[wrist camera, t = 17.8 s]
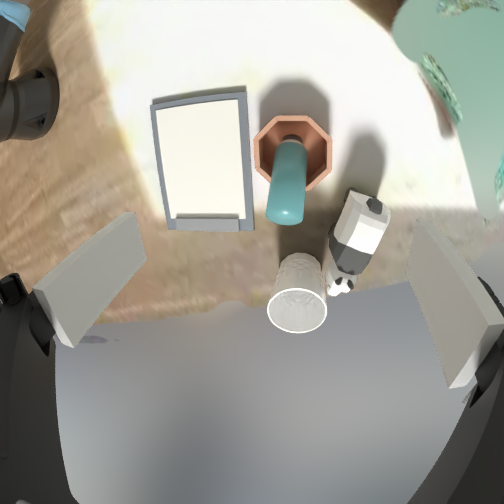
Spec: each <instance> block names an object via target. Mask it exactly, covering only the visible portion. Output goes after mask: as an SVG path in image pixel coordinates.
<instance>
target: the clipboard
mask: <svg viewBox="0 0 504 504" xmlns="http://www.w3.org/2000/svg"><path fill="white" fill-rule="evenodd" d="M150 111H151V120H152V129H153V137H154V145H155V153H156V160H157V167H158V173H159V180H160V186H161V192H162V198H163V204H164V209H165V215H166V220H167V225H168V229H170V230H177V231H222V232H239V231H254V229H255V227H254V210H253V193H252V176H251V159H250V143H249V126H248V110H247V94H246V92H235V93H225V94H215V95H207V96H200V97H193V98H186V99H180V100H174V101H169V102H164V103H159V104H154V105H150Z"/></svg>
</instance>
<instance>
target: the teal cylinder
mask: <svg viewBox="0 0 504 504" xmlns="http://www.w3.org/2000/svg"><path fill="white" fill-rule="evenodd" d="M307 156H308V152H307V150H306V148H305V147H304V145H303V140H302V138H301V137H300V136H298V135H295V134H288V135H285V136H284V137H283V139H282V142H281V143H280V144H279V145H278V146H277V147H276V149H275V155H274V162H273V168H272V175H271V182H270V189H269V195H268V202H267V209H266V217H267V218H268V219H269V220H270V221H272V222H274V223H277V224H281V225H295V224H299V223H300V222H302V220H303V213H304V201H305V188H306V173H307Z"/></svg>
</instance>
